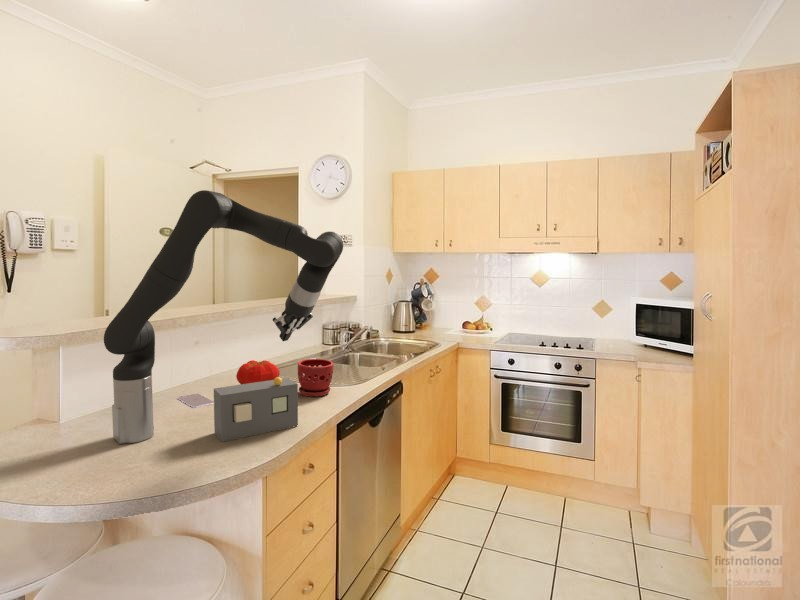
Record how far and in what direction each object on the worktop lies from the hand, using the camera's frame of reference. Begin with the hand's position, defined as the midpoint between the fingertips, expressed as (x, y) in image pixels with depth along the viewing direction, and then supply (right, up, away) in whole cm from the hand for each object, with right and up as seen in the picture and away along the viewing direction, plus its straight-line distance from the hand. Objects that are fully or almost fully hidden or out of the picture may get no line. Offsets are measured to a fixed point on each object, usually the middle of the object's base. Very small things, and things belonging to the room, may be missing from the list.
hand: (283, 338), depth 133 cm
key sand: (-10, -22, -5) cm, 25 cm away
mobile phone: (-38, -25, +28) cm, 53 cm away
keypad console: (-8, -27, +2) cm, 28 cm away
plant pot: (+2, -24, +38) cm, 45 cm away
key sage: (-3, -21, +3) cm, 22 cm away
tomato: (-22, -23, +47) cm, 56 cm away
